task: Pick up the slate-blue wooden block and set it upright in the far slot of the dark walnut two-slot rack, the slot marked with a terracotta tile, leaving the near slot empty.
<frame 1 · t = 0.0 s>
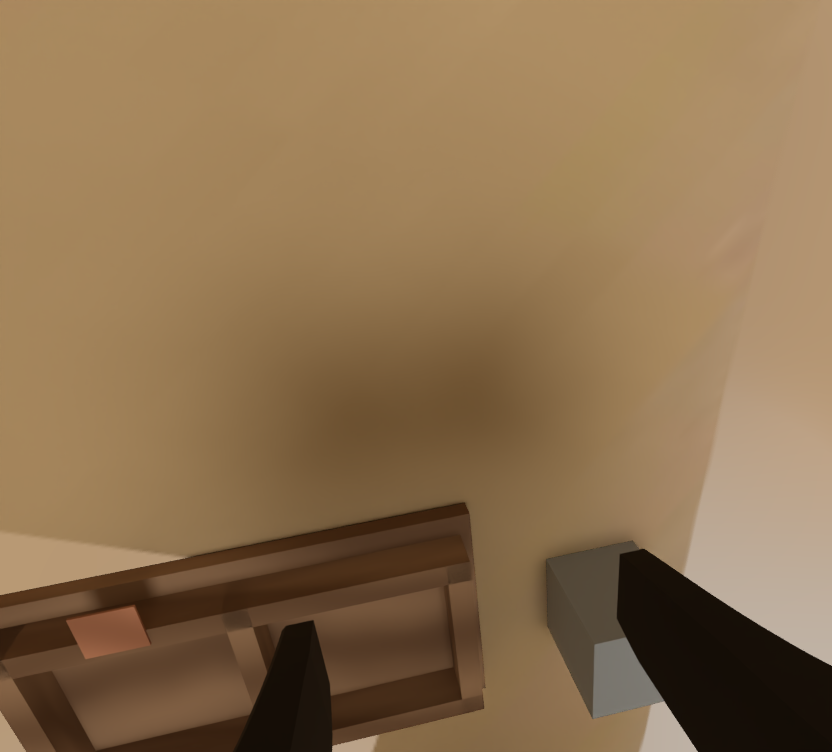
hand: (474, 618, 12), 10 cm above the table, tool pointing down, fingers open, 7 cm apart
slate block: (588, 583, 26), on the table
slot rack: (266, 640, 24), on the table
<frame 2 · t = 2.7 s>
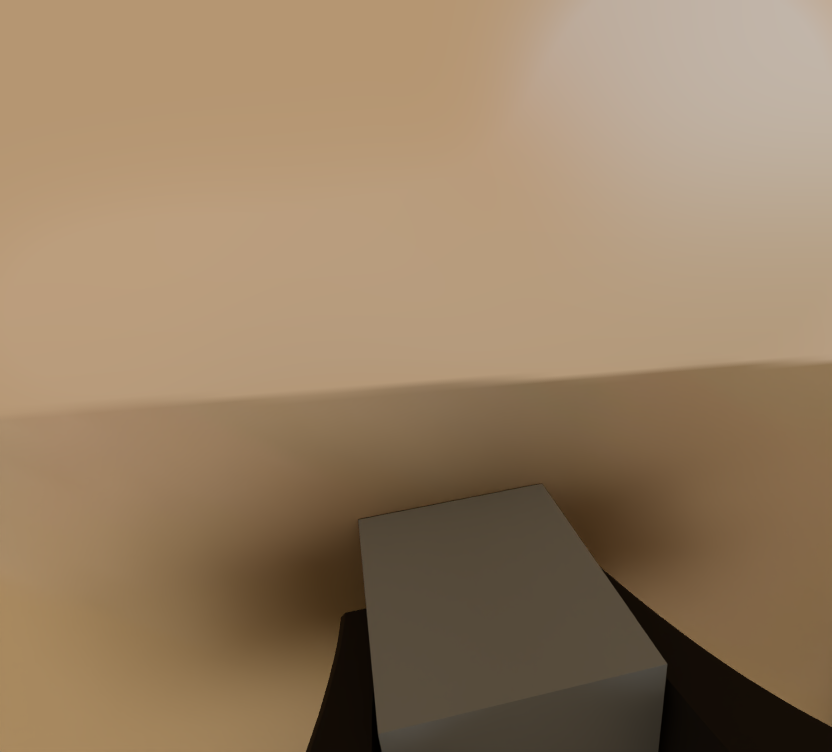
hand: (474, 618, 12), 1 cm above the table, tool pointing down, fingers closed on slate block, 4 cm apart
slate block: (459, 574, 13), on the table, touching gripper
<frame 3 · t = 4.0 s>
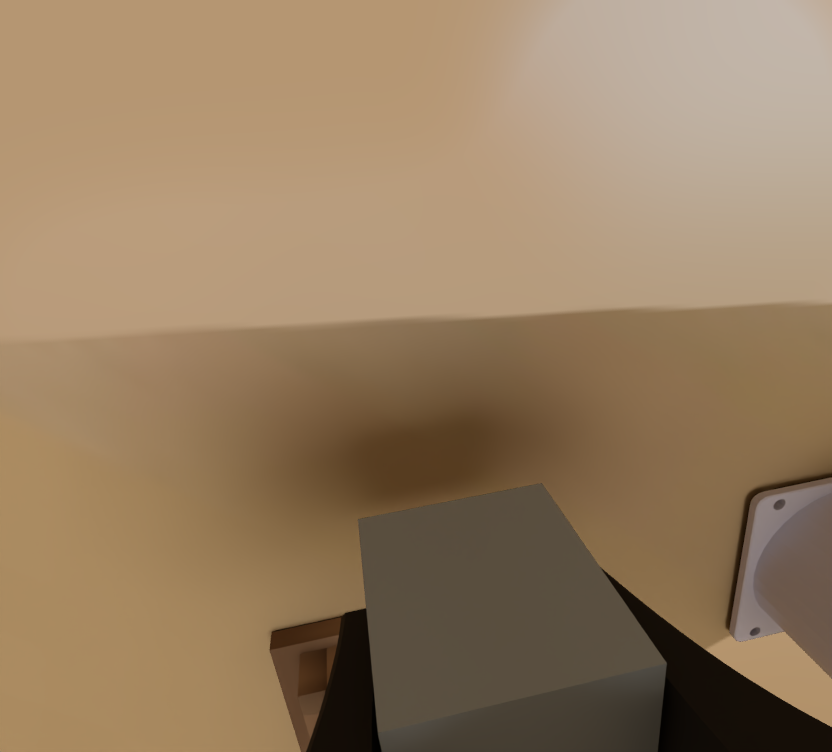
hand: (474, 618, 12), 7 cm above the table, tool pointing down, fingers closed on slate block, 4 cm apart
slate block: (459, 573, 13), point 5 cm above the table, touching gripper
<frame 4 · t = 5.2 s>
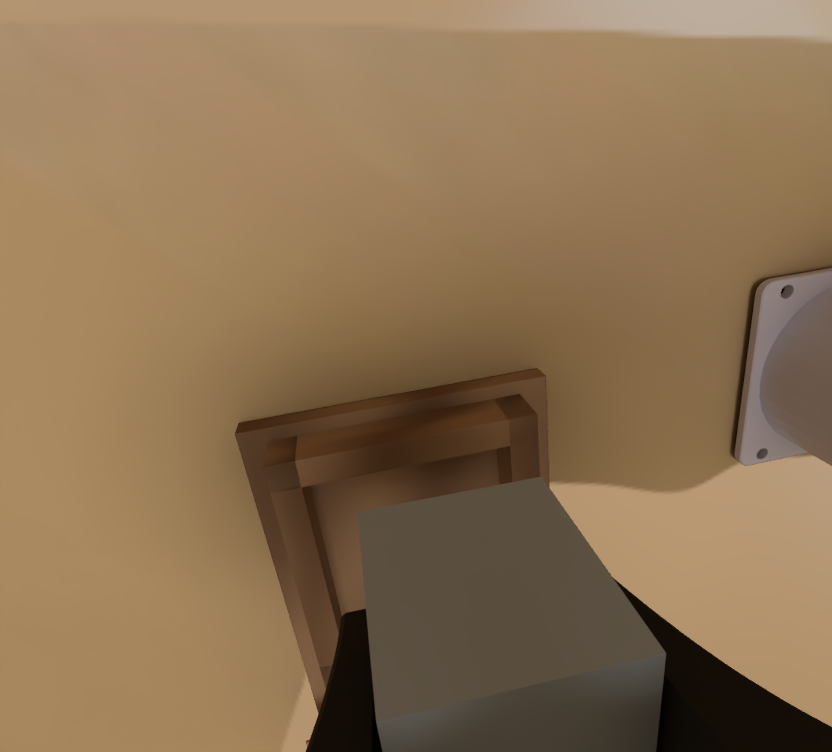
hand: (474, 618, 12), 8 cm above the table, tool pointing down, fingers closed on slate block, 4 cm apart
slate block: (458, 567, 13), point 7 cm above the table, touching gripper
slot rack: (425, 601, 22), on the table
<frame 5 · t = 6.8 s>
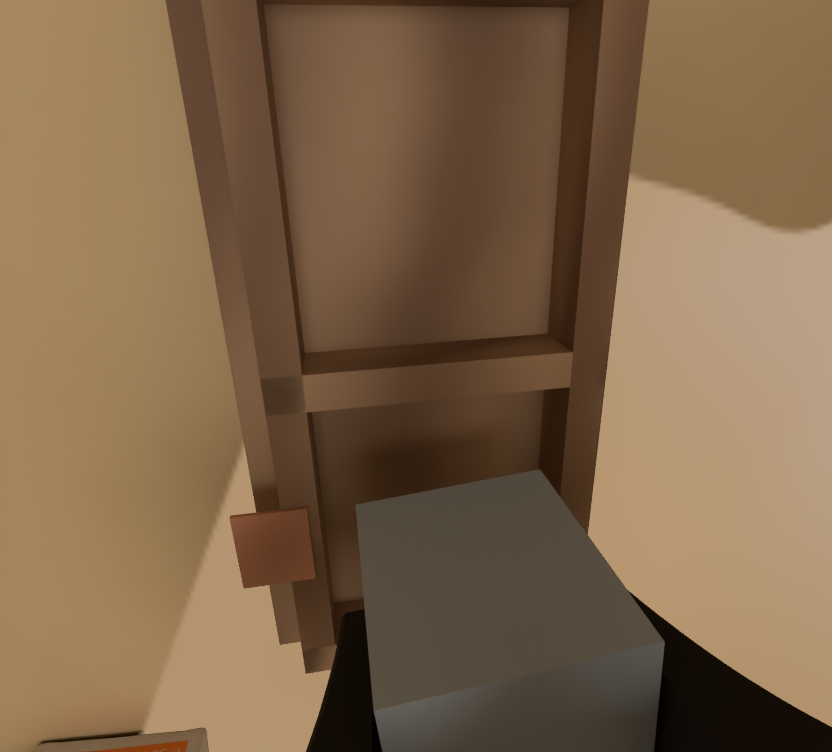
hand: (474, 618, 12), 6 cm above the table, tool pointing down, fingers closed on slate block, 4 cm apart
slate block: (457, 560, 13), point 4 cm above the table, touching gripper
slot rack: (425, 350, 16), on the table
when the fingers open (3 cm above the table, at t = 8.2 s): slate block drops 1 cm, resting on slot rack.
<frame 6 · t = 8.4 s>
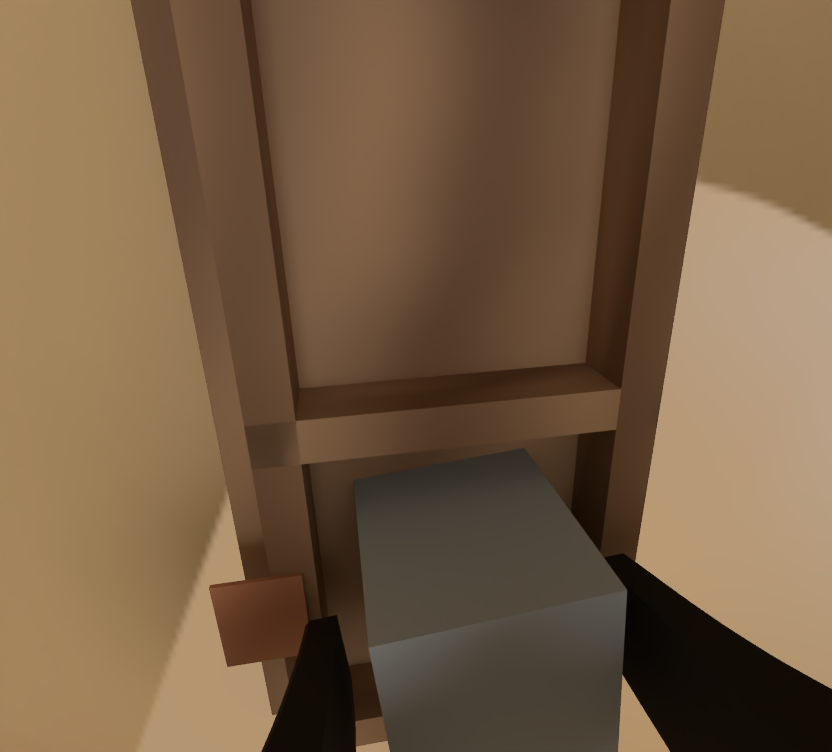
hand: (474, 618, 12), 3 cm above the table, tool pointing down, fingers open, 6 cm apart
slate block: (448, 533, 14), point 1 cm above the table, touching slot rack
slot rack: (441, 381, 13), on the table
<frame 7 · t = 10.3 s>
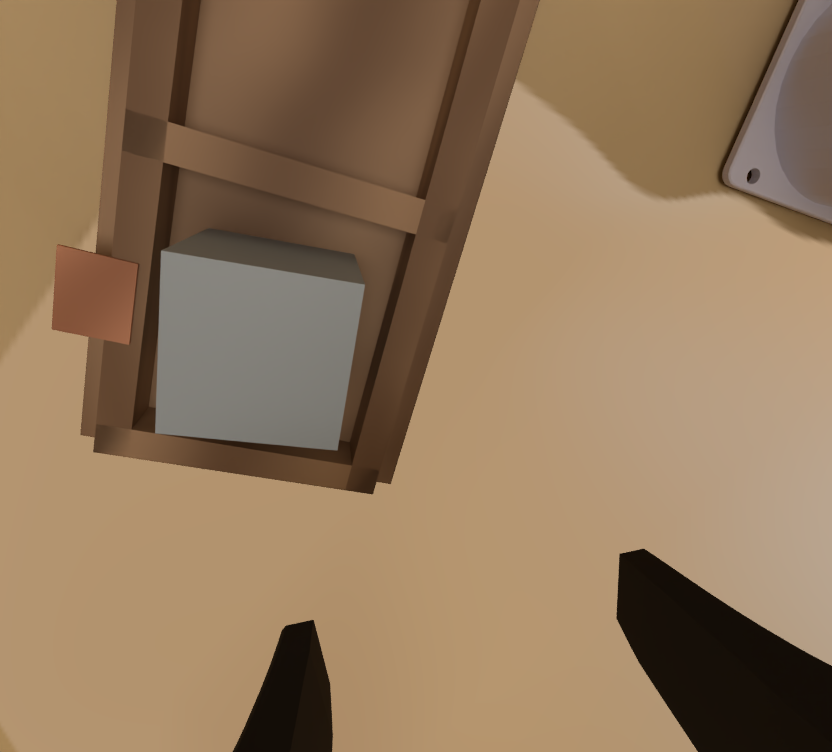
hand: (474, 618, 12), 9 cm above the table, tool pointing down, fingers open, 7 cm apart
slate block: (276, 310, 17), point 1 cm above the table, touching slot rack
slot rack: (304, 180, 17), on the table
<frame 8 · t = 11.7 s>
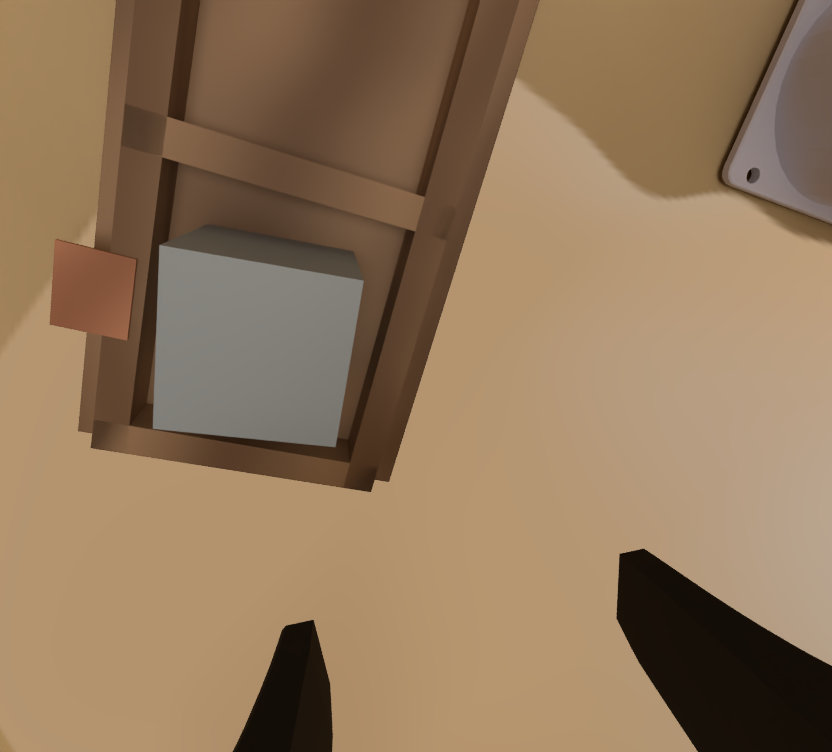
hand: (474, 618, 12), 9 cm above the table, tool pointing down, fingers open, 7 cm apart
slate block: (275, 306, 17), point 1 cm above the table, touching slot rack
slot rack: (303, 177, 16), on the table
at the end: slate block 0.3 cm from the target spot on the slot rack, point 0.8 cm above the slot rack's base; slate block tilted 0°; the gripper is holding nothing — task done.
